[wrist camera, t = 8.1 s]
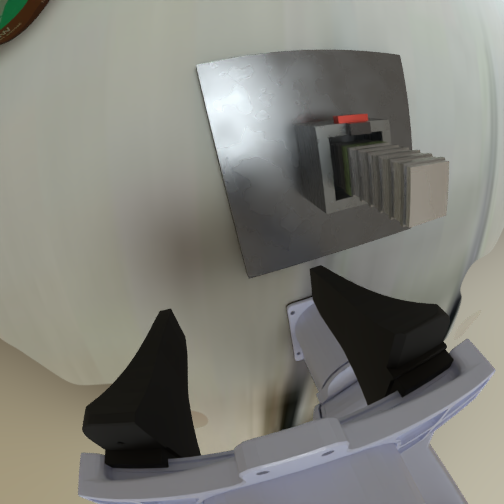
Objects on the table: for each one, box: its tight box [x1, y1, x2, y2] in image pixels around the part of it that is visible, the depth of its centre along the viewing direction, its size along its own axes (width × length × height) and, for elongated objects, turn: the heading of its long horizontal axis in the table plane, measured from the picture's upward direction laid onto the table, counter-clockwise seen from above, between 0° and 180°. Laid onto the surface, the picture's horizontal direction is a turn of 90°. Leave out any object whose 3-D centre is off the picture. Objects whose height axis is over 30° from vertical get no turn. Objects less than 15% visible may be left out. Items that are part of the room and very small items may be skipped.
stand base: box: [196, 50, 412, 278], centre depth 19 cm, size 18×18×6 cm
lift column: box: [330, 139, 449, 228], centre depth 14 cm, size 3×3×8 cm
